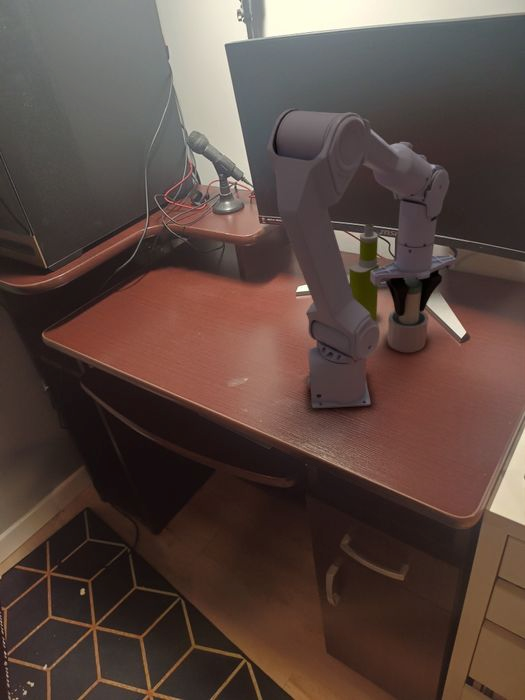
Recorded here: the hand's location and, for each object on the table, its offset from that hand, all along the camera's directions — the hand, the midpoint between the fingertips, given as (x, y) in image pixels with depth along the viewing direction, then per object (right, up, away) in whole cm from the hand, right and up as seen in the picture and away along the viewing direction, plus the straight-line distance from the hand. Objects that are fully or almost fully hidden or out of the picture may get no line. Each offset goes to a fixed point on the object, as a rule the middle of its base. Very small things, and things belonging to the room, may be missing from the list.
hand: (409, 310), depth 83 cm
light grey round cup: (+1, -6, +4) cm, 7 cm away
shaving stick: (0, -1, +1) cm, 2 cm away
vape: (-6, -1, +11) cm, 13 cm away
